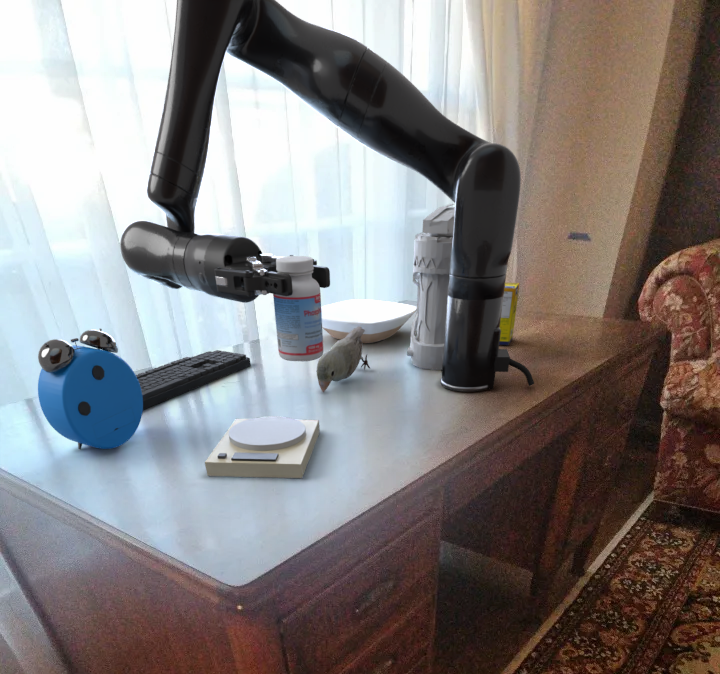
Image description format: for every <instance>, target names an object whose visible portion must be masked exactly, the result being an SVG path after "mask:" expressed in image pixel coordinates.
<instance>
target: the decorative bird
mask: <svg viewBox="0 0 720 674" xmlns="http://www.w3.org/2000/svg"><path fill="white" fill-rule="evenodd" d="M364 331H365V330H364V329H362V327H360V326H359V327H357V328H354V329H353V330H352V331H350V332H349V334H348V335H347V336H346V338H343V339H341V340H340V339H338V340H337V341H336V342H335V343H334V344H332V345H331V346H332V347H331V348H330V350H327V351H325V352H323V355H322V356H321V357H320V358H318V362H317V365H316V377H317V381H318V385H319V387H320V391H321V392H322V393H325V392H326V390H327V389H328V388H329V386H330V384H331V383H332V381H333V382H340V381H344V380H345V379H348V378H350V377H351V376H352V375H353V374H354V373H355V372H356V370H357V368H358V366H359V364H360V361H361V362H363V363H362V364H361V365H360V369H362V368H363V369H364V371H366V367H367V368H368V369H371V367H370V365H369V363H368V354H366V355H365V358H364V357H363V356H362V355H363V343H362V340H361V336H362V335H363V333H364Z"/></svg>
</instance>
